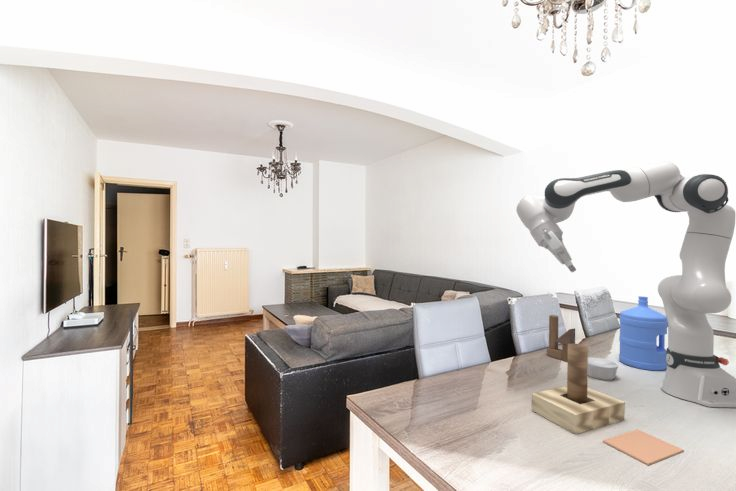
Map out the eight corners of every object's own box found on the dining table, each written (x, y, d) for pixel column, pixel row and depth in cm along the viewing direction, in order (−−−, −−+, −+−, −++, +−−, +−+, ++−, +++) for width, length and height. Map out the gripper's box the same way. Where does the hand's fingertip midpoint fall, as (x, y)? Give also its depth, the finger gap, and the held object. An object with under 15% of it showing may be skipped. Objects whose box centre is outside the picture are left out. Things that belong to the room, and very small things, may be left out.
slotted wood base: (577, 399, 111) (577, 383, 111) (624, 419, 98) (624, 402, 98) (531, 410, 103) (531, 393, 103) (575, 434, 91) (575, 415, 91)
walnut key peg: (583, 411, 103) (583, 344, 103) (590, 420, 98) (590, 349, 98) (564, 410, 104) (565, 342, 104) (570, 418, 99) (571, 347, 99)
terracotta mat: (637, 430, 93) (637, 429, 93) (683, 451, 83) (683, 449, 83) (602, 441, 87) (602, 440, 87) (648, 465, 78) (648, 463, 78)
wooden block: (569, 363, 146) (570, 320, 145) (546, 355, 155) (546, 315, 155) (575, 361, 147) (575, 319, 147) (552, 354, 157) (552, 314, 157)
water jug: (625, 367, 140) (626, 298, 140) (614, 356, 155) (615, 293, 155) (674, 373, 134) (675, 301, 134) (658, 361, 149) (658, 295, 149)
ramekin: (618, 384, 124) (618, 369, 124) (581, 377, 130) (582, 363, 130) (616, 374, 134) (616, 360, 134) (582, 368, 140) (582, 355, 140)
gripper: (551, 221, 113) (578, 256, 106) (561, 237, 129) (584, 269, 122) (533, 232, 115) (558, 267, 108) (544, 246, 131) (567, 278, 124)
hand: (572, 268), depth 115 cm, fingers open, 8 cm apart
